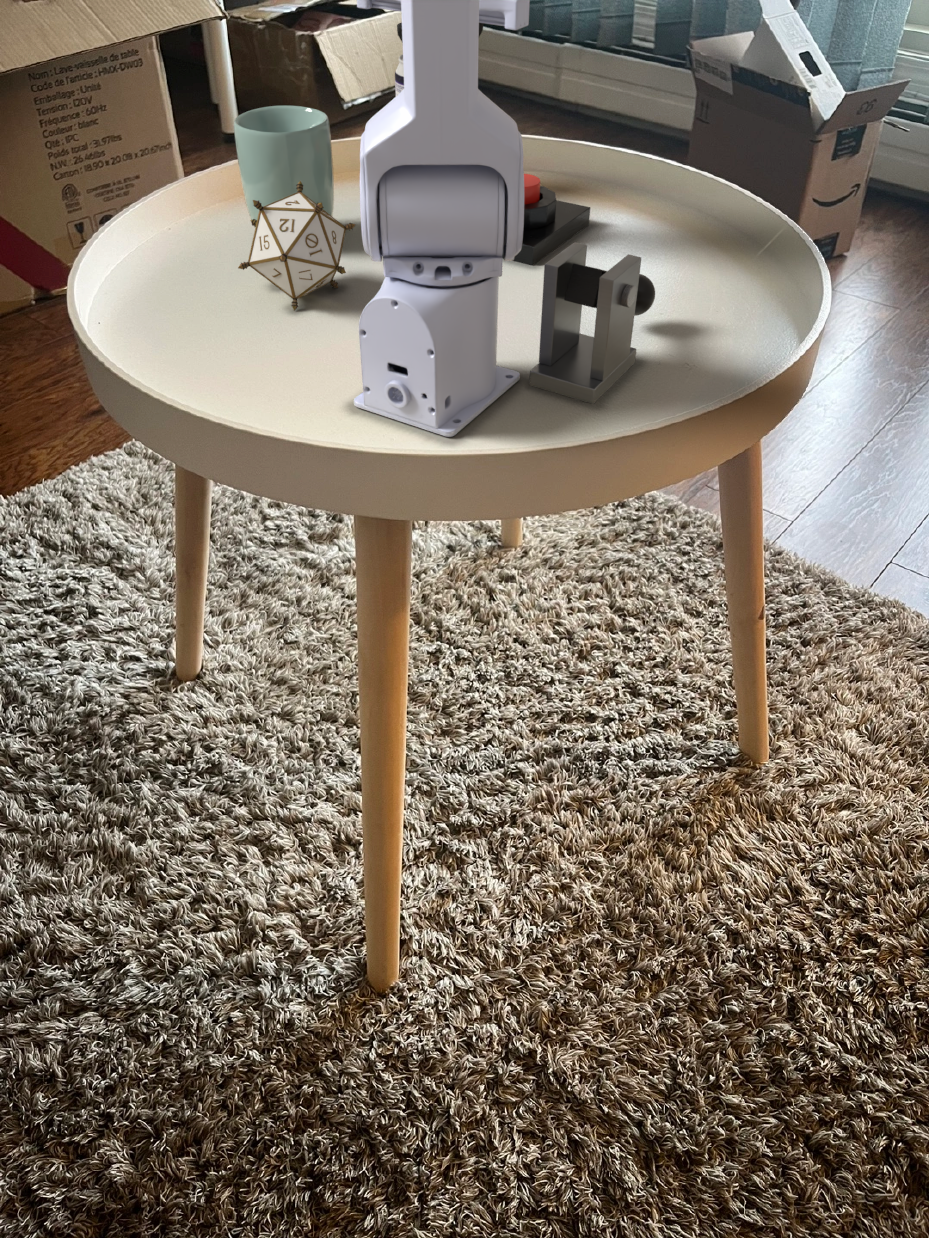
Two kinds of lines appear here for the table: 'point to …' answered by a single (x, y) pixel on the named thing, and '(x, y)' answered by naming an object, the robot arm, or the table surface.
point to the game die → (296, 245)
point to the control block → (549, 226)
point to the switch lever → (587, 286)
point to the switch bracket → (576, 357)
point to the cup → (284, 155)
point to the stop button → (531, 189)
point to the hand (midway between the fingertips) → (441, 118)
